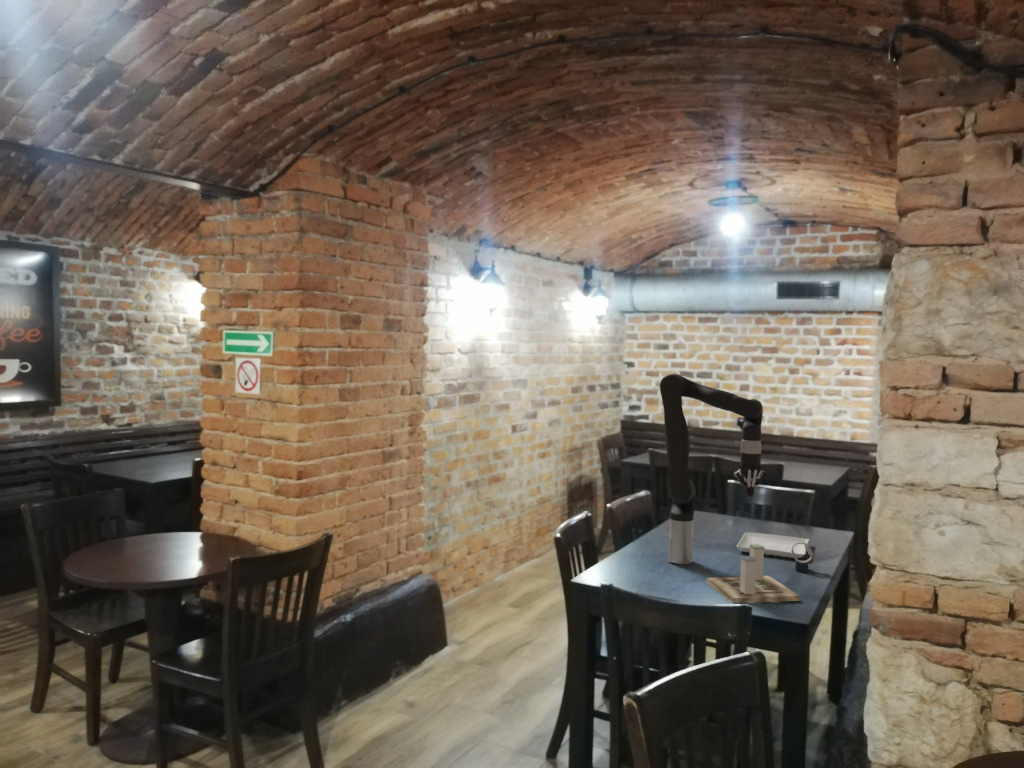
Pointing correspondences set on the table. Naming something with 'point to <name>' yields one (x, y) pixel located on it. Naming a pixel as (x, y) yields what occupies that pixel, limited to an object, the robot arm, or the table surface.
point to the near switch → (747, 575)
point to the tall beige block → (758, 559)
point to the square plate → (773, 544)
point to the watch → (801, 564)
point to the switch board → (763, 590)
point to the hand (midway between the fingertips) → (749, 496)
